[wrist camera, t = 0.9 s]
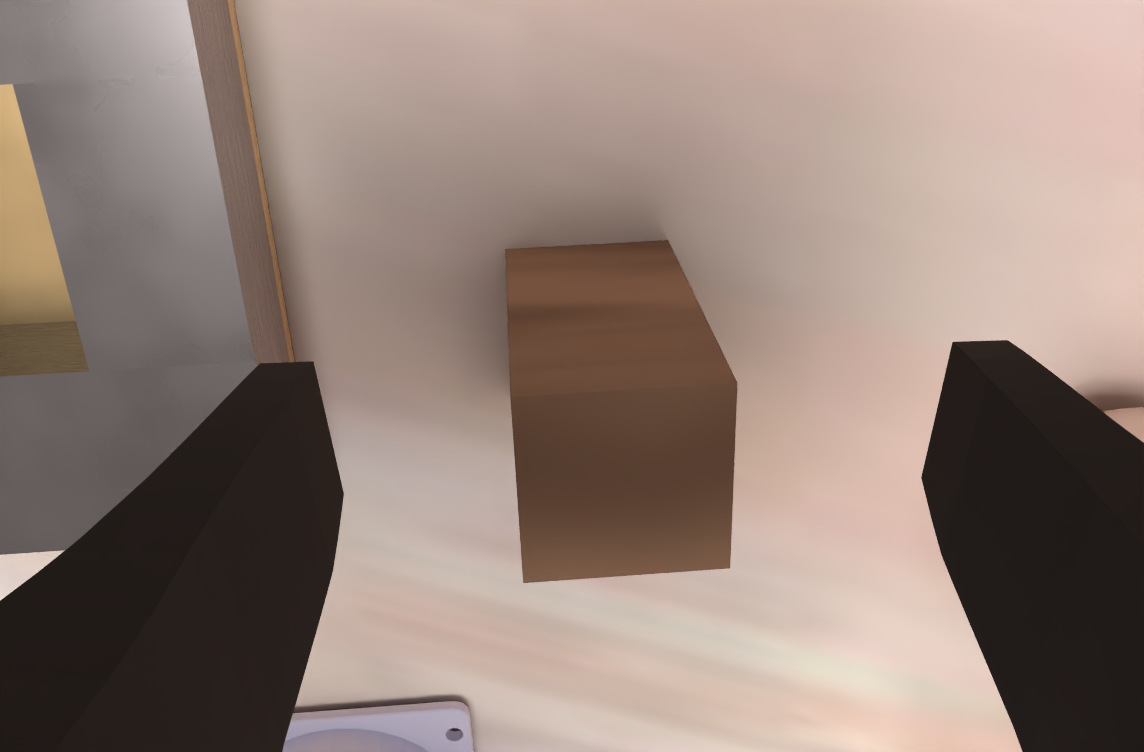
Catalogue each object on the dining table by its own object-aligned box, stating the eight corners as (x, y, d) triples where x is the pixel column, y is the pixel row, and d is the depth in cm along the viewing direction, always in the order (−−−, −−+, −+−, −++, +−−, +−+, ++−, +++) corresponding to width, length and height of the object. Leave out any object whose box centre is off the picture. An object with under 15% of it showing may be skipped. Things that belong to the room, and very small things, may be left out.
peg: (666, 385, 27) (729, 568, 20) (515, 395, 27) (523, 582, 20) (667, 240, 25) (737, 382, 18) (505, 249, 25) (510, 397, 18)
